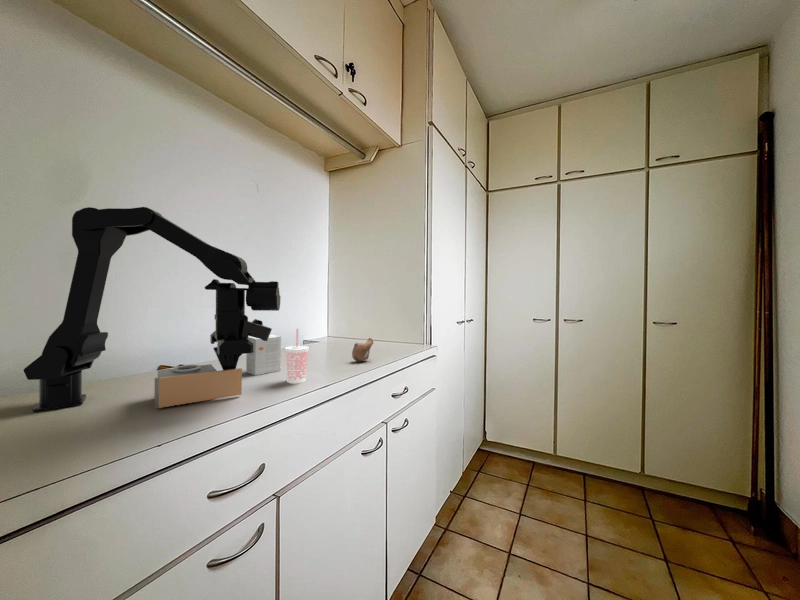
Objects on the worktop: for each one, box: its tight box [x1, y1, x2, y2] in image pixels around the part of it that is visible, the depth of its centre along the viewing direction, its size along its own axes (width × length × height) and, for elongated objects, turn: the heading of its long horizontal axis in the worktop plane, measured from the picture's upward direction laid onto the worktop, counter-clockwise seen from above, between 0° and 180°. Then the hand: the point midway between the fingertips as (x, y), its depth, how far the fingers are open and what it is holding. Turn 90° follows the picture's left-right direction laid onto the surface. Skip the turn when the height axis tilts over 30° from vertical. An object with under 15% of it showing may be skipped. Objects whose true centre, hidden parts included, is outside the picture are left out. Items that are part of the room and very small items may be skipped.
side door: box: [153, 367, 243, 409], centre depth 64 cm, size 1×15×6 cm, turn 127°
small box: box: [245, 334, 282, 376], centre depth 90 cm, size 8×6×10 cm
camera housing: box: [157, 364, 218, 409], centre depth 67 cm, size 8×10×7 cm
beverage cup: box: [284, 328, 310, 385], centre depth 81 cm, size 6×6×14 cm
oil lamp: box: [351, 337, 374, 363], centre depth 107 cm, size 9×4×8 cm, turn 135°
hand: (230, 379), depth 69 cm, fingers closed
